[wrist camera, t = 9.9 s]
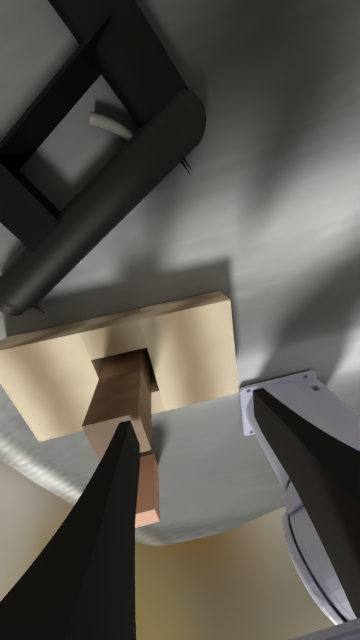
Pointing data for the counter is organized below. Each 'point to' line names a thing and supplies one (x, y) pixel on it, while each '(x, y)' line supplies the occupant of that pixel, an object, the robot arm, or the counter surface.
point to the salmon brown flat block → (147, 492)
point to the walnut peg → (121, 401)
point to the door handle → (137, 153)
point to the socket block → (114, 338)
